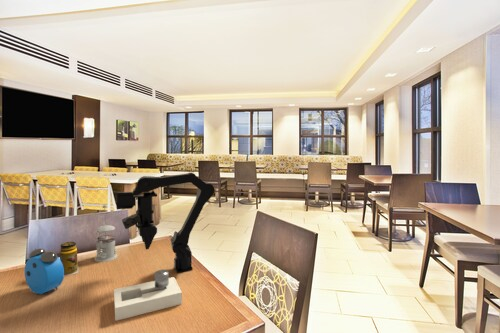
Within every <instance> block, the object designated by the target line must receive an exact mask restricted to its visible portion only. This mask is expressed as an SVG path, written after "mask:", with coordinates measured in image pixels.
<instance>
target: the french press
mask: <svg viewBox="0 0 500 333" xmlns="http://www.w3.org/2000/svg"><path fill="white" fill-rule="evenodd" d="M102 208H103V209H107V208H108V205H107V204H104V205H102ZM106 218H107V217H106V216H104V225H101V226H99V227H97V228H96V229H95V232H96V234H95V240H96V242H95V244H96V256H95V257H94V259H93V260H94V262H97V263H105V262H110V261H113V260H115V259H117V258H118V257H119V256H118V254H117V253H116V239H115V236H114V235H113V234H107V233H110V232H113V231H114V230H116V227H115V226H113V225H110V224H107V220H106ZM103 233H105V235H101V234H103ZM98 234H99V236H97V235H98Z"/></svg>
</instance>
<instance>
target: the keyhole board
mask: <svg viewBox="0 0 500 333" xmlns="http://www.w3.org/2000/svg"><path fill="white" fill-rule="evenodd" d="M113 296H114V297H113V299H114V300H113V301H114V303H113V304H114V321H116V322H117V321H122V320H124V319H128V318H132V317H136V316H139V315H143V314H149V313H151V312H155V311H159V310H163V309H167V308H171V307H175V306H178V305H182V304H183V292H182V290H181V288H180V286H179V284H178V282H177V280H176V278H175V277H174V276H172V277H169V284H168V286H166V287H165V289H163V290H159V288H157V287H155V280H151V281H147V282H142V283H138V284H133V285H129V286H128V285H127V286H123V287H118V288H114V289H113Z"/></svg>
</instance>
